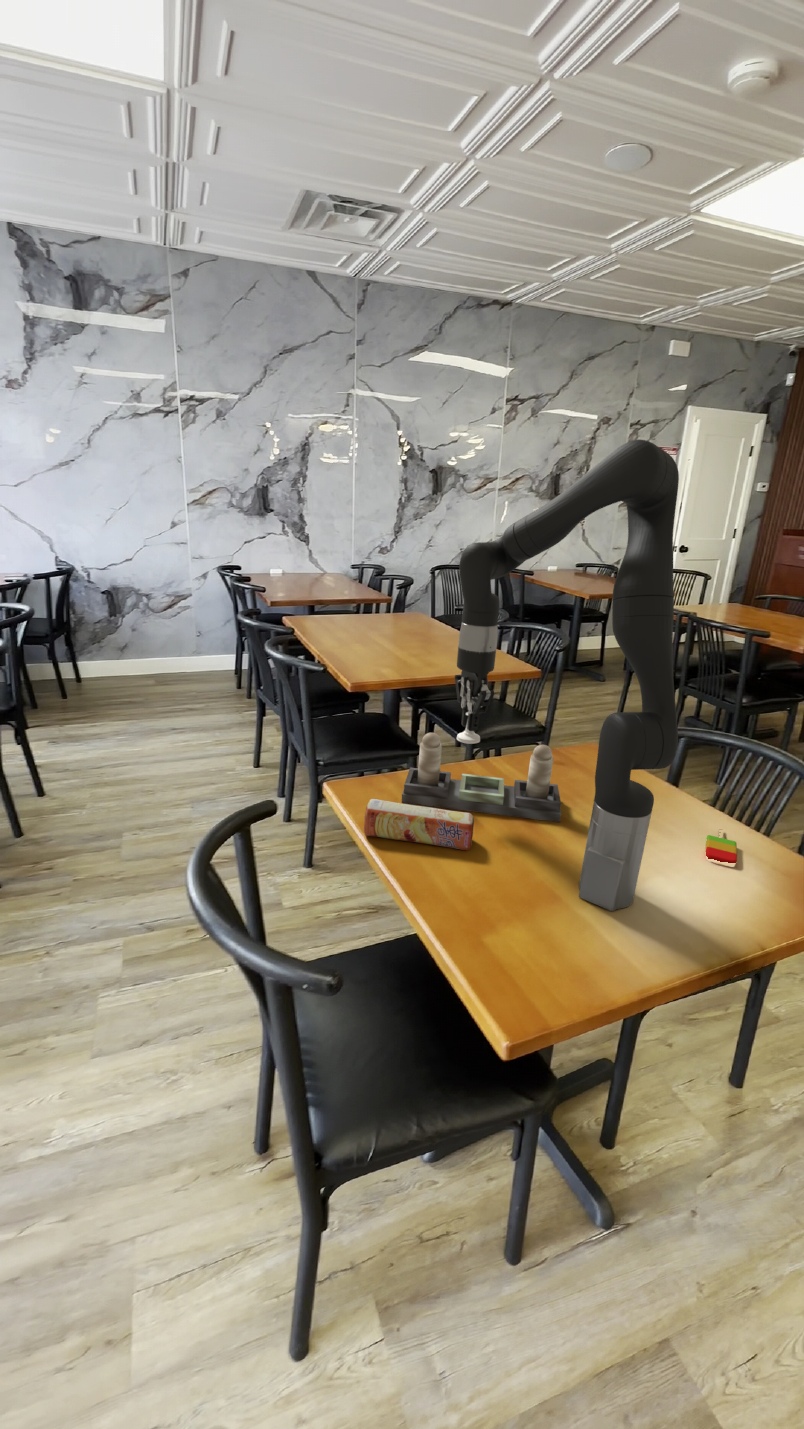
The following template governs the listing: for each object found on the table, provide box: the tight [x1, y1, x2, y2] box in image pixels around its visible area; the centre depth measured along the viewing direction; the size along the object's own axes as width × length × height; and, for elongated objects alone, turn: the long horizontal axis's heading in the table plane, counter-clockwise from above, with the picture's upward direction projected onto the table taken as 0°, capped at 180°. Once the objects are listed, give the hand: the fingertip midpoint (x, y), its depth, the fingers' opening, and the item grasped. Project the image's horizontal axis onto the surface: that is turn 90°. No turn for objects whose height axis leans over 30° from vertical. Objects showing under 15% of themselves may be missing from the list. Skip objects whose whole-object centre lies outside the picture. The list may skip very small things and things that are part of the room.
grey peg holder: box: [401, 732, 562, 823], centre depth 142 cm, size 34×11×15 cm, turn 82°
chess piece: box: [456, 697, 481, 745], centre depth 134 cm, size 5×5×10 cm
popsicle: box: [705, 828, 738, 864], centre depth 131 cm, size 6×15×2 cm, turn 154°
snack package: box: [363, 798, 475, 851], centre depth 127 cm, size 21×7×7 cm, turn 80°
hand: (469, 727), depth 134 cm, fingers closed on chess piece
